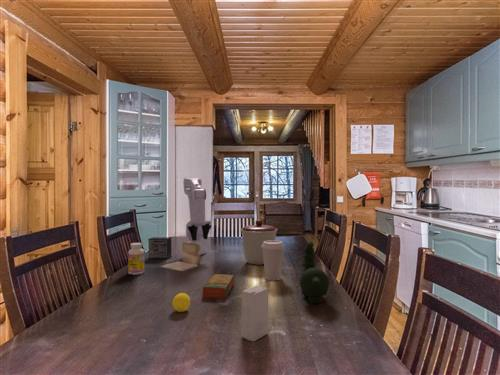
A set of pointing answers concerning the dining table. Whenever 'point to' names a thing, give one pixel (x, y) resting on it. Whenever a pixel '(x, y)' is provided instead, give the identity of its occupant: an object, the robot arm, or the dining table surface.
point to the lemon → (181, 302)
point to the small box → (160, 248)
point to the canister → (256, 241)
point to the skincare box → (254, 313)
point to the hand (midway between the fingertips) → (199, 239)
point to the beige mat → (179, 266)
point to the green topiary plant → (313, 277)
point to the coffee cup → (272, 259)
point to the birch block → (191, 252)
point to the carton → (218, 286)
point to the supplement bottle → (136, 259)
